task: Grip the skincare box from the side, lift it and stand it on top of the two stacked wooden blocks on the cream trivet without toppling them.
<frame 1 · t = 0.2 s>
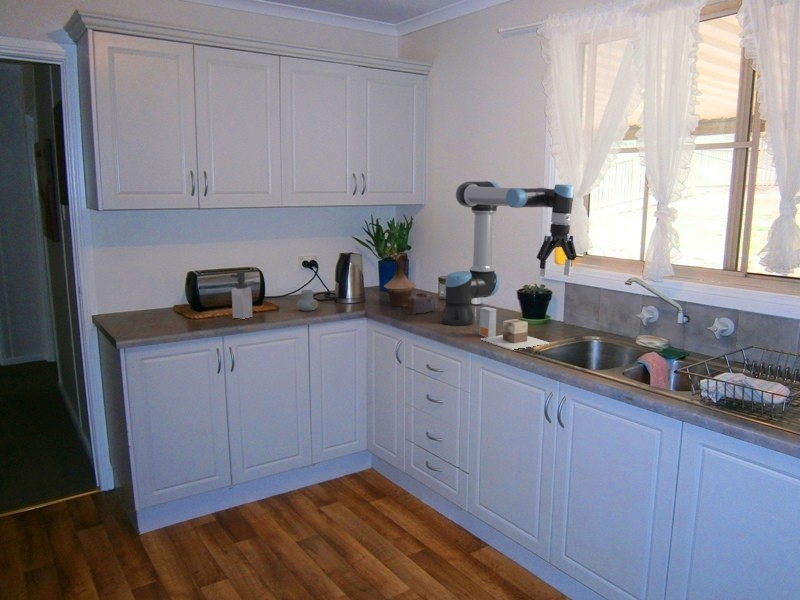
hand: (554, 276, 260), 27 cm above the countertop, tool pointing down, fingers open, 13 cm apart
food item: (421, 312, 321), on the countertop
brown vase: (400, 305, 340), on the countertop
skincare box: (487, 336, 273), on the countertop
trivet: (514, 341, 262), on the countertop
upper block: (515, 331, 262), point 5 cm above the countertop, touching lower block
air freshener: (307, 310, 326), on the countertop
soap dispenser: (240, 318, 307), on the countertop
lower block: (514, 340, 262), point 1 cm above the countertop, touching trivet, upper block
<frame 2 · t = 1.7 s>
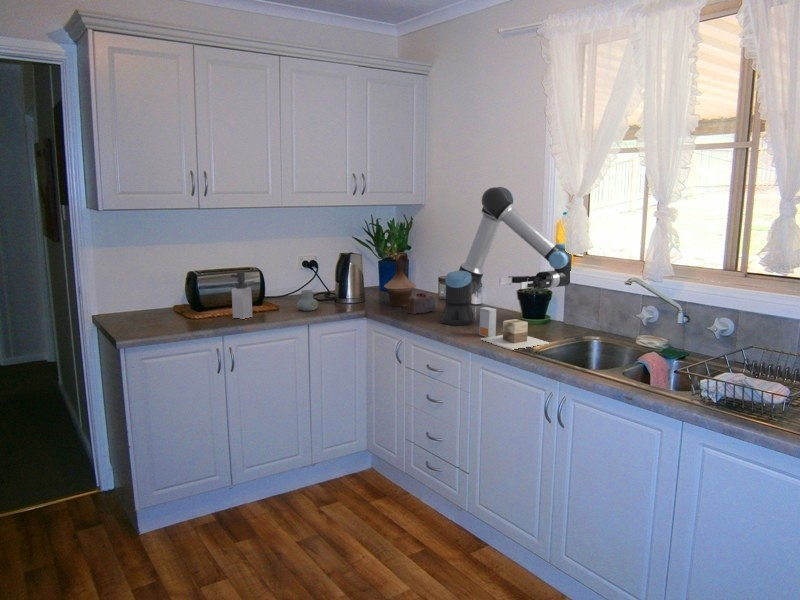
hand: (510, 283, 274), 22 cm above the countertop, tool horizontal, fingers open, 13 cm apart
nothing on the countertop moved.
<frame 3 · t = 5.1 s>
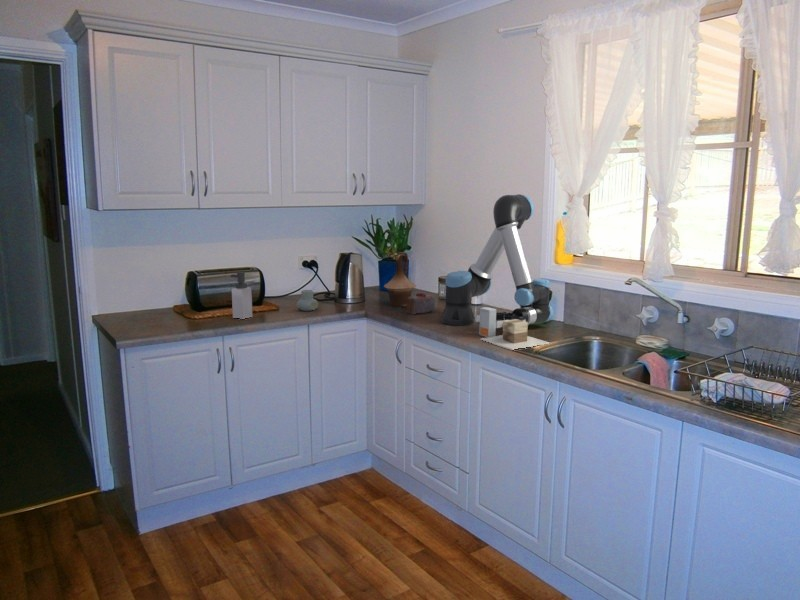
hand: (485, 321, 270), 6 cm above the countertop, tool horizontal, fingers open, 13 cm apart
upper block: (515, 331, 261), point 5 cm above the countertop, touching gripper, lower block
everything else where it was.
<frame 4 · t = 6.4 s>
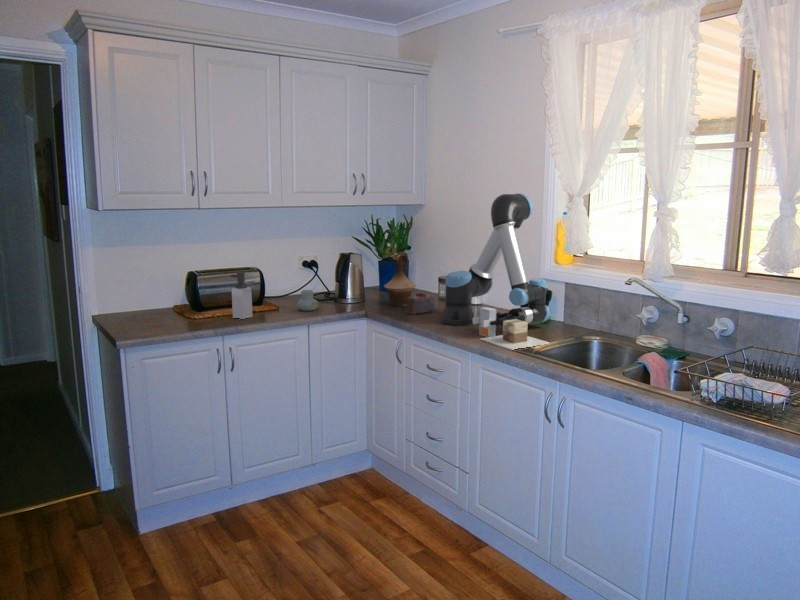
hand: (478, 322, 269), 7 cm above the countertop, tool horizontal, fingers closed on skincare box, 6 cm apart
skincare box: (487, 336, 273), on the countertop, touching gripper
upper block: (515, 331, 261), point 5 cm above the countertop, touching lower block
everything else where it was.
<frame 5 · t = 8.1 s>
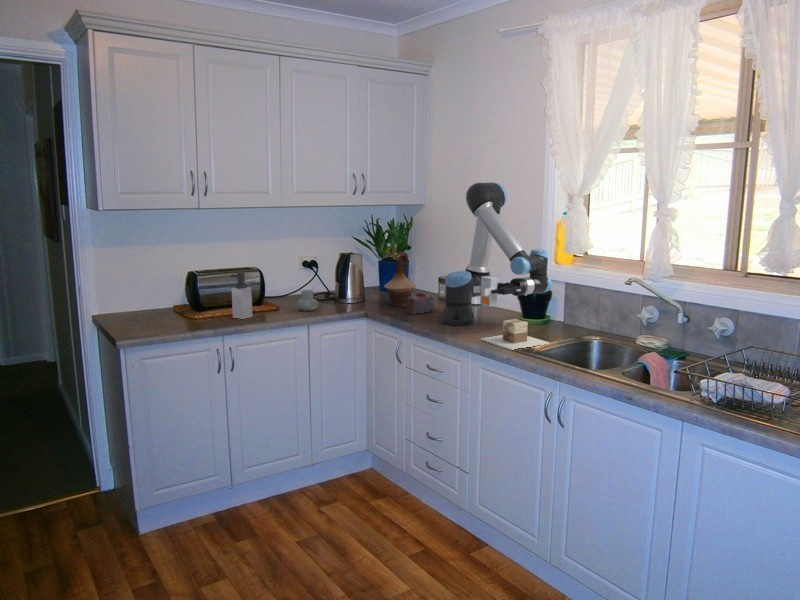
hand: (479, 290, 266), 20 cm above the countertop, tool horizontal, fingers closed on skincare box, 6 cm apart
skincare box: (488, 305, 270), point 13 cm above the countertop, touching gripper
everything else where it was.
when the fingers open (16 cm above the countertop, at t = 10.2 s): skincare box stays where it is, resting on upper block.
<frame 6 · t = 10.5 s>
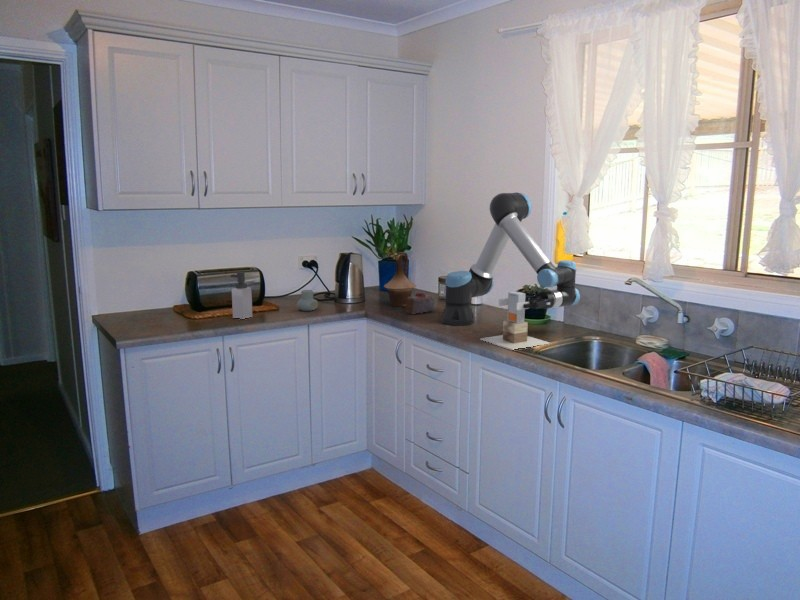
hand: (507, 304, 257), 16 cm above the countertop, tool horizontal, fingers open, 9 cm apart
skincare box: (515, 322, 261), point 8 cm above the countertop, touching upper block
upper block: (515, 331, 261), point 5 cm above the countertop, touching lower block, skincare box
everything else where it was.
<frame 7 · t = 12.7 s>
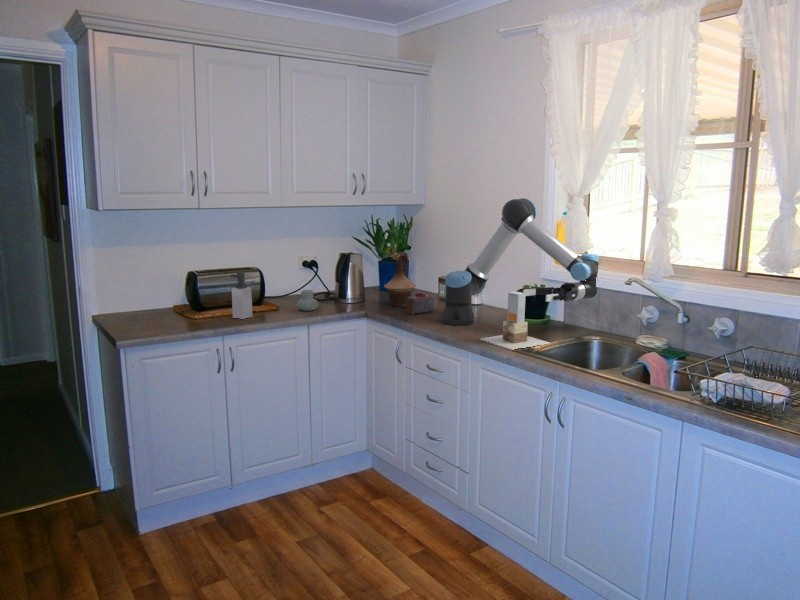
hand: (534, 295, 264), 18 cm above the countertop, tool horizontal, fingers open, 13 cm apart
nothing on the countertop moved.
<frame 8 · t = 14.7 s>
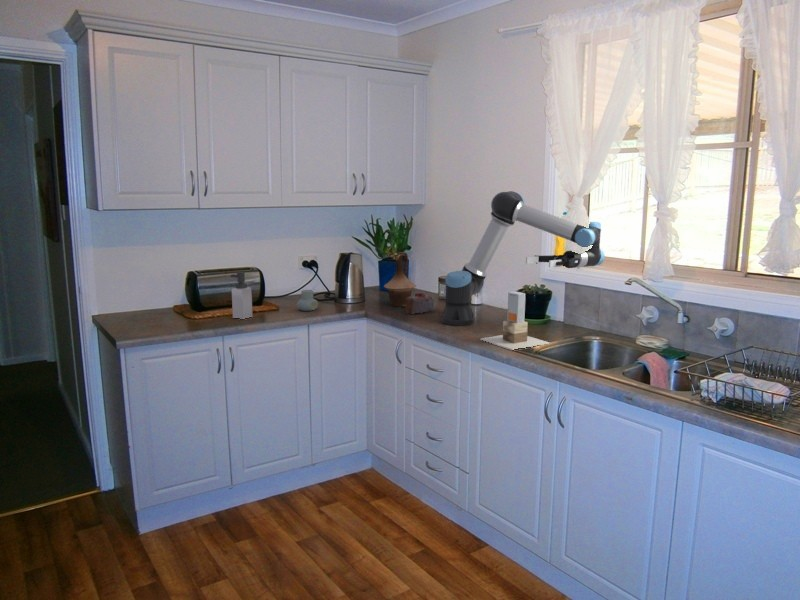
hand: (537, 262, 265), 32 cm above the countertop, tool horizontal, fingers open, 13 cm apart
nothing on the countertop moved.
at the end: skincare box inside the target area on the upper block (0.1 cm from its centre), point 3.8 cm above the upper block's base; skincare box tilted 0°; upper block moved 0.1 cm from its start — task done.
